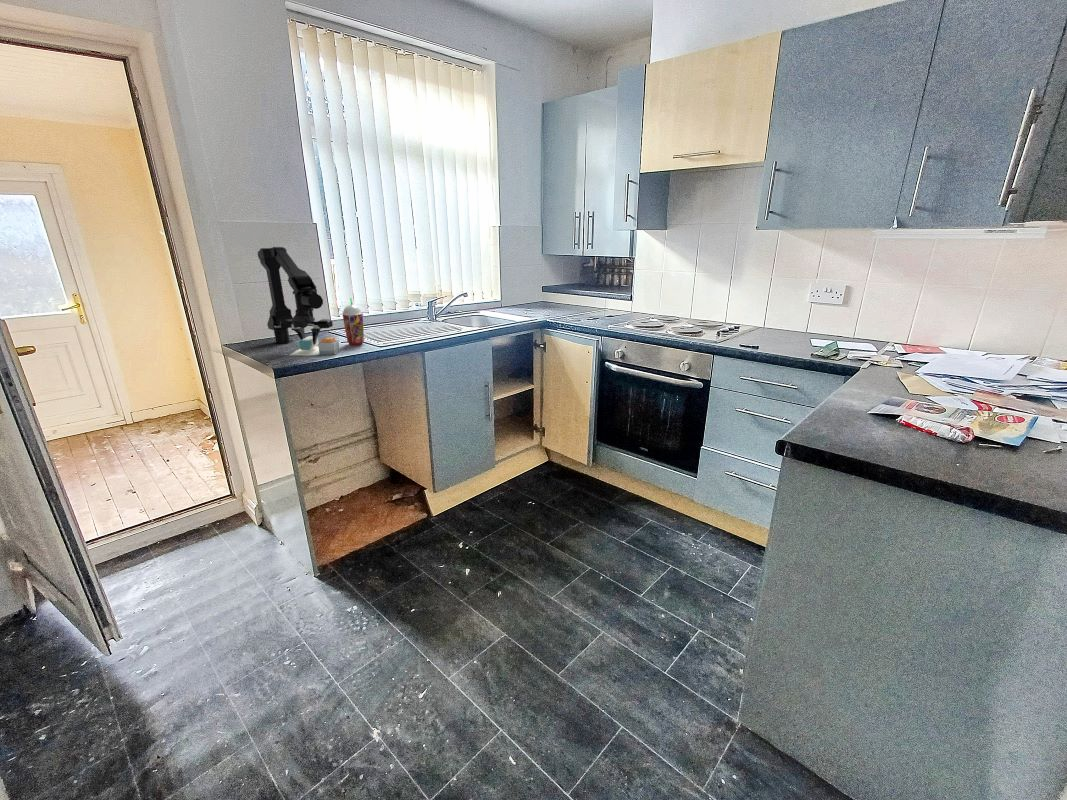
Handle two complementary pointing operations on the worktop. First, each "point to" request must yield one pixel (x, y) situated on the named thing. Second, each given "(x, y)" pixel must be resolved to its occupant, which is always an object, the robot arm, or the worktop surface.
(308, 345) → the milk carton
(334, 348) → the button housing
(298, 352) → the paper sheet
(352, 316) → the smoothie
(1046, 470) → the worktop surface
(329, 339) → the button
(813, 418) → the worktop surface
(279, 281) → the robot arm
